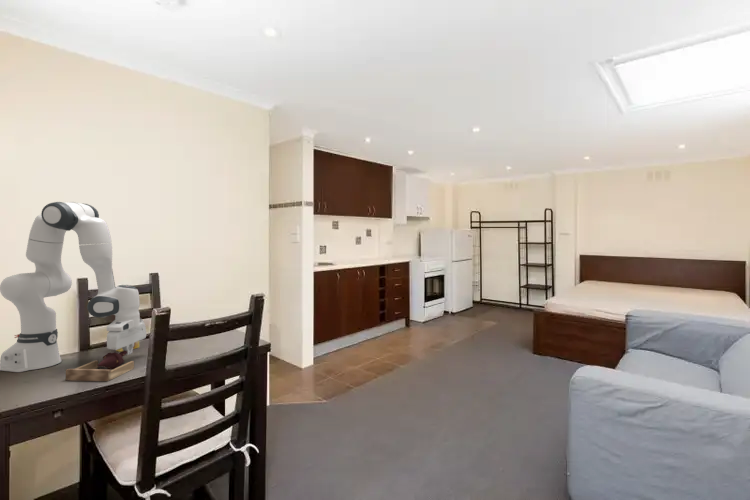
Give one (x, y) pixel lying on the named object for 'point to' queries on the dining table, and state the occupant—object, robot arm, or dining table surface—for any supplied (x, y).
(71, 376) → the wooden u-shaped frame
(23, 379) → the dining table surface
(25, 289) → the robot arm
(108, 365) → the maroon pointed bulb
